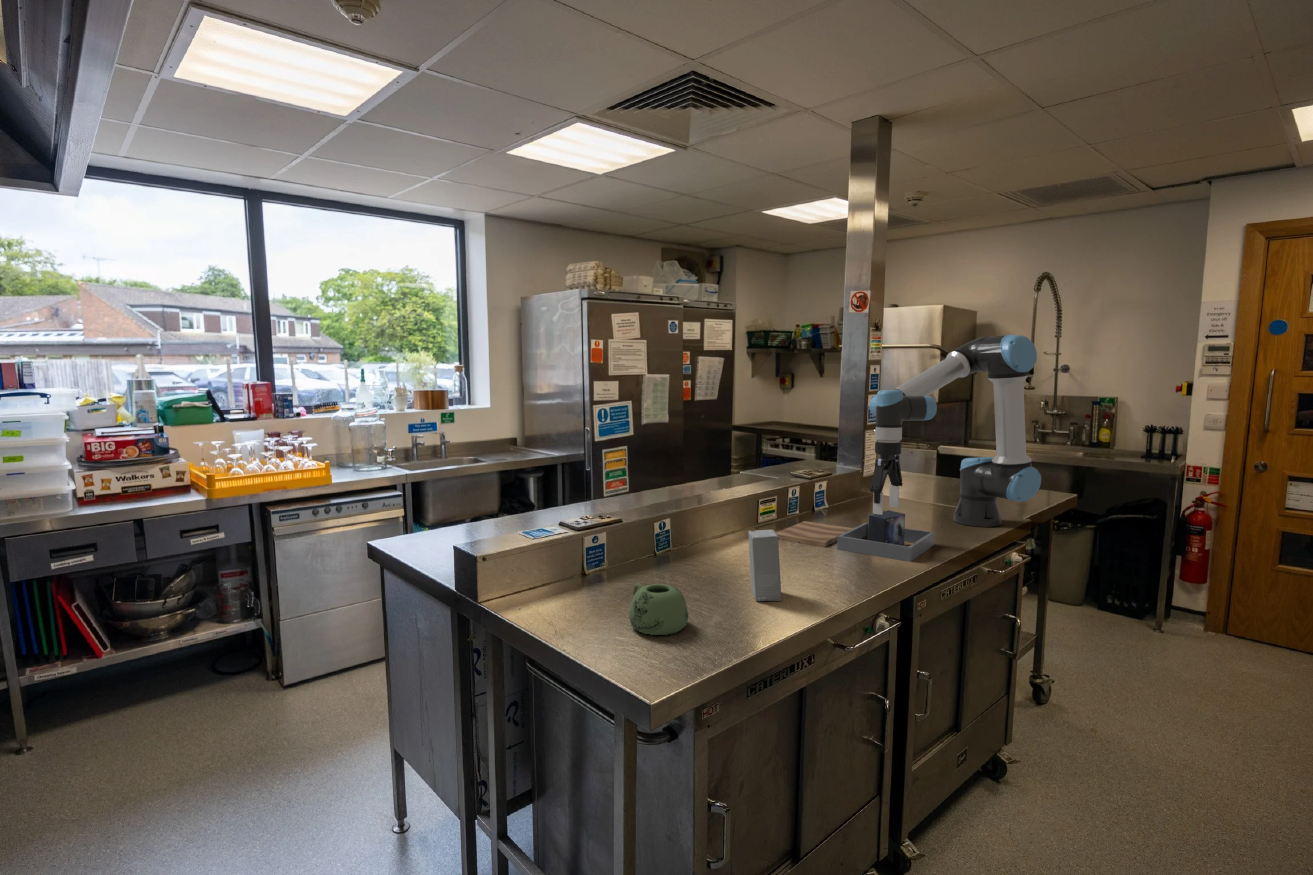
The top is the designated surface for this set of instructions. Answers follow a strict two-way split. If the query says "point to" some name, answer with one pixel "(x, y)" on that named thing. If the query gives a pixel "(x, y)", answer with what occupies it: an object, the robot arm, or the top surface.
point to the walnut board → (812, 533)
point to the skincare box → (764, 565)
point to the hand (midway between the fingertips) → (885, 510)
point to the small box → (887, 527)
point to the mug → (658, 609)
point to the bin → (856, 544)
